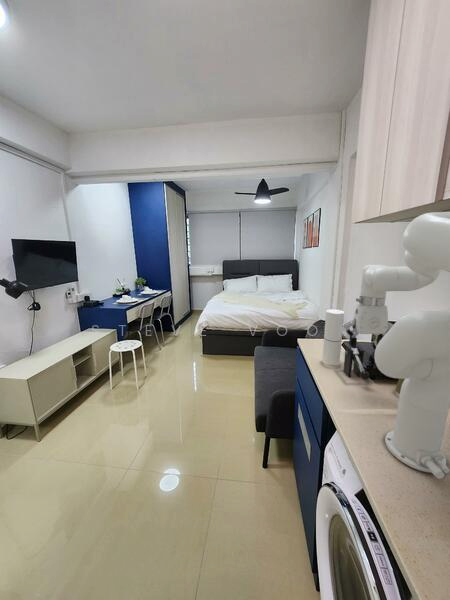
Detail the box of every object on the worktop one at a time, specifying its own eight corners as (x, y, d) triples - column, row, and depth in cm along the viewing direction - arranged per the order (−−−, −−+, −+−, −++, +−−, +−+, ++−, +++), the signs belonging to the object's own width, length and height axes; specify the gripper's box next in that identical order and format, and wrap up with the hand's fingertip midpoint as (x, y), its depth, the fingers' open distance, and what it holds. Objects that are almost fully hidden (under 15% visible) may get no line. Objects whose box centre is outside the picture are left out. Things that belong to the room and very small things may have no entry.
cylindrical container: (323, 367, 106) (327, 313, 101) (320, 360, 113) (324, 308, 107) (340, 369, 105) (346, 314, 99) (337, 361, 112) (342, 309, 106)
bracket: (369, 384, 93) (373, 353, 91) (346, 384, 94) (349, 354, 91) (356, 370, 103) (359, 343, 100) (335, 371, 104) (337, 343, 101)
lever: (369, 381, 89) (372, 377, 86) (360, 381, 89) (363, 377, 86) (355, 351, 98) (358, 347, 96) (347, 351, 98) (350, 347, 96)
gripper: (351, 304, 80) (346, 351, 84) (405, 303, 79) (397, 351, 83) (341, 298, 87) (337, 342, 91) (390, 298, 87) (384, 342, 91)
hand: (366, 346), depth 87 cm, fingers open, 9 cm apart
